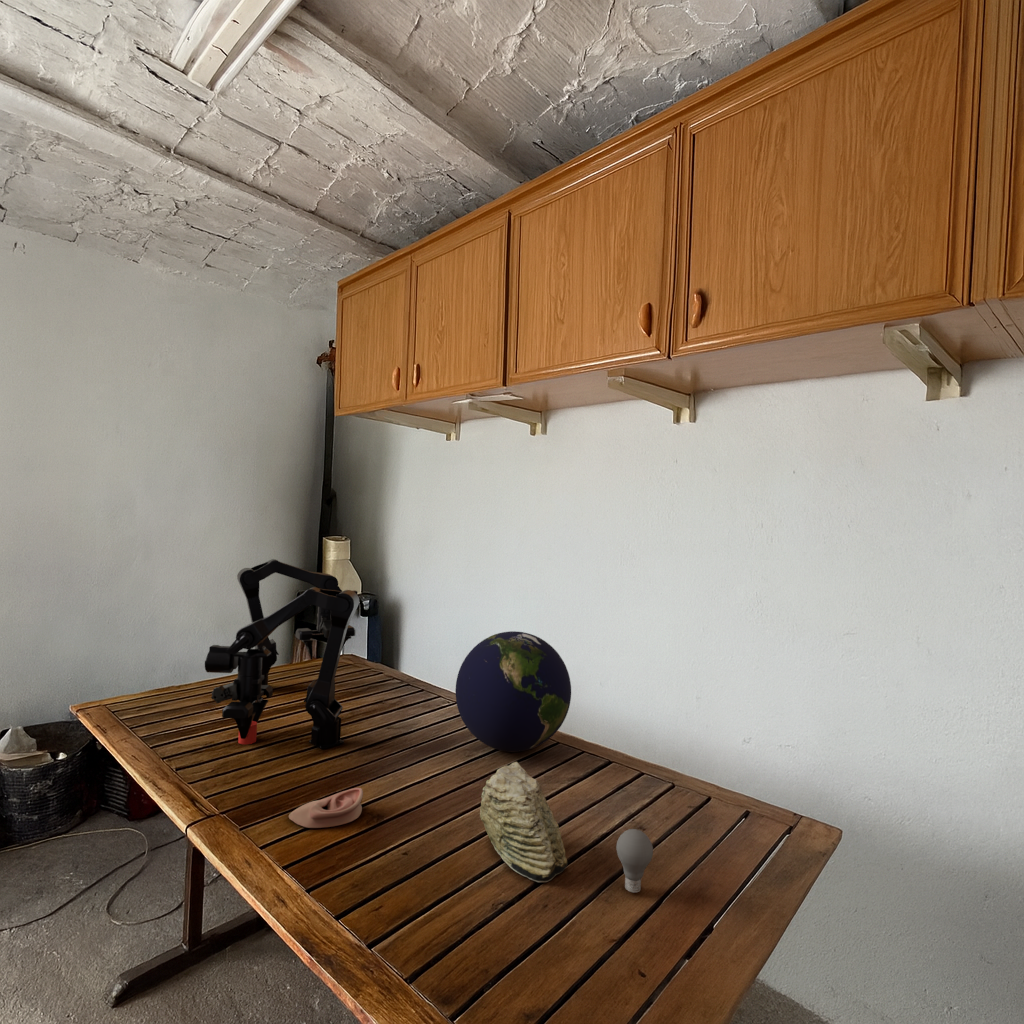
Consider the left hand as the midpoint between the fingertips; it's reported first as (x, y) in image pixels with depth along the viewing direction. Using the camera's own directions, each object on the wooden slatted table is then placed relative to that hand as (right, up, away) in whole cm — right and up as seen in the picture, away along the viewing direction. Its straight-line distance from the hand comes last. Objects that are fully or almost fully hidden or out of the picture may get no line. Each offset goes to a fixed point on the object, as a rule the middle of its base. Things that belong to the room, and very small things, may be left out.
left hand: (325, 657), depth 214 cm
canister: (-4, -9, -52) cm, 53 cm away
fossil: (+64, -13, -99) cm, 119 cm away
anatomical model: (+26, -11, -87) cm, 92 cm away
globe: (+63, -12, -49) cm, 81 cm away
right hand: (-4, -8, -52) cm, 53 cm away
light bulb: (+83, -14, -108) cm, 137 cm away
